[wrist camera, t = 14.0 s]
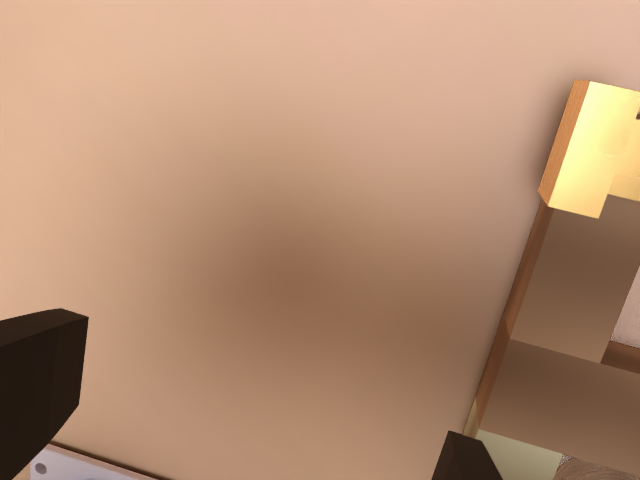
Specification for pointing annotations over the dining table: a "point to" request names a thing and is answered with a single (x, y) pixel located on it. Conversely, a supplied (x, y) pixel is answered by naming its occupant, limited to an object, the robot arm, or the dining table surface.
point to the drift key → (594, 150)
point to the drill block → (565, 350)
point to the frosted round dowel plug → (589, 472)
